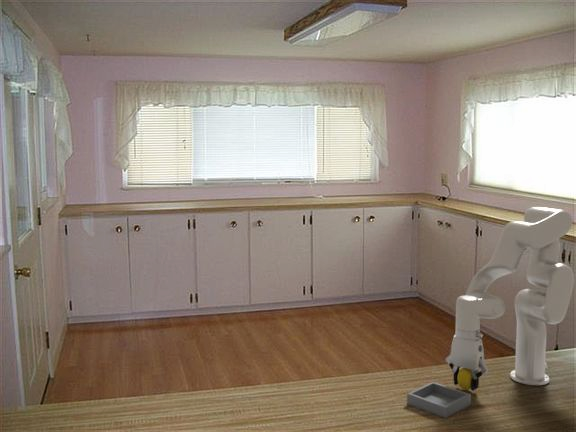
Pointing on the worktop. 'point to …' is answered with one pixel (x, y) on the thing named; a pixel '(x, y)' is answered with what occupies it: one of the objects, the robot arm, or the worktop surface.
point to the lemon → (464, 378)
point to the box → (439, 399)
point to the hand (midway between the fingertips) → (465, 386)
